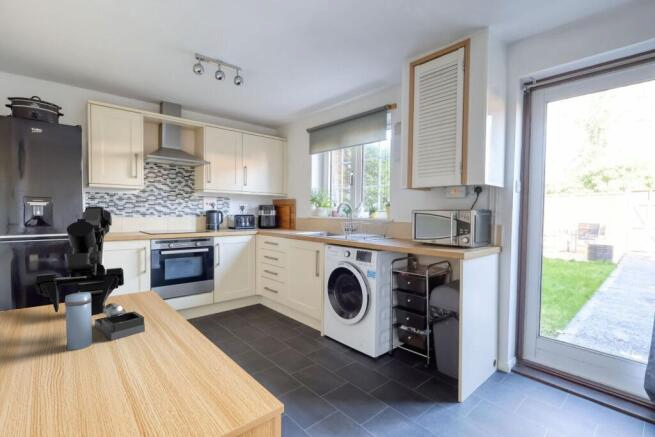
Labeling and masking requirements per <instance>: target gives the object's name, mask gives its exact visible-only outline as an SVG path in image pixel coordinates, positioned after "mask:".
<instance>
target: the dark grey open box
mask: <svg viewBox="0 0 655 437" xmlns="http://www.w3.org/2000/svg"><path fill="white" fill-rule="evenodd" d="M102 314H103V315H104V316H105V317H100V318H96V319H94V327H95V328H96V329H97V330H99V332H101V333H102V334H103V335H104V336H105V337H107V339H109V340H110V342H111V341H112V342H113V341H115V340H120V339H123V338H126V337H130V336H133V335H136V334H140V333H143V332H145V331H146V326H145V317H144V316H143V315H142V314H140V313H138V312H136V311H135V310H134V311H128V312H126V309H125V308H124V307H122V306H121V305H119V304H117V303H116V302H115V303H114V302H110V303H108V304H105V307H104V309H103V313H102Z"/></svg>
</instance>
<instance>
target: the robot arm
mask: <svg viewBox="0 0 655 437" xmlns="http://www.w3.org/2000/svg"><path fill="white" fill-rule="evenodd" d="M112 223H113V220H112V213H111V212H110V211H108V210H106V209H104V206H101V205H98V206H93V205H92V206H86V207H85V210H84V211H82V218H77V220H76V221H74V222H72V223H70V224H69V225H68V226H67V227H66V235H67V237H68V241H69V244H70V246H71V248H72V253H69V254H67V264H66V267H67V275H69V276H67V277H65V276H64V277H58V276H57V274H56V272H55V273H44V274H43V273H42V274H38V275H36V276H35V277H34V279H33V286H34V289H35V290H36V293H37V295H40V296H43V297H46V298H47V297H49V299H50V301H51V302H52V306H53V309H54V312H55V313H58V312H59V308H60V307H59V306H60V292H59V288H60V287H64V286H71V285H74V287H75V293H80V292H90V293H91V316H95V315H99V314H104V313H103V309H104V307H105V306H106V301H107V300H108V298H109V296H111V294H112V292H114V290H115V289H119V287H123V285H125V278H124V277H125V276H124V275H125V274H124V269H123V268H122V267H113V268H106V267H105V266H104V264H103V256H104V252H103V251H104V238H105V236H106V235H107V234H108V233H110V229H111V228H110V227H111V226H112V225H113V224H112Z"/></svg>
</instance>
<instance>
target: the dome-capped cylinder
mask: <svg viewBox="0 0 655 437" xmlns="http://www.w3.org/2000/svg"><path fill="white" fill-rule="evenodd" d="M64 306H65V329H66V331H65V332H66V334H65V335H66V336H65V337H66V350H68V351H77V350H78V351H79V350H82V349H85V348H88V347H89V346H91V345H92V344H93V323H92V321H93V320H92V315H91V293H90V292H80V293H76V292H74V293H70V294H67V295H65V299H64Z"/></svg>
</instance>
